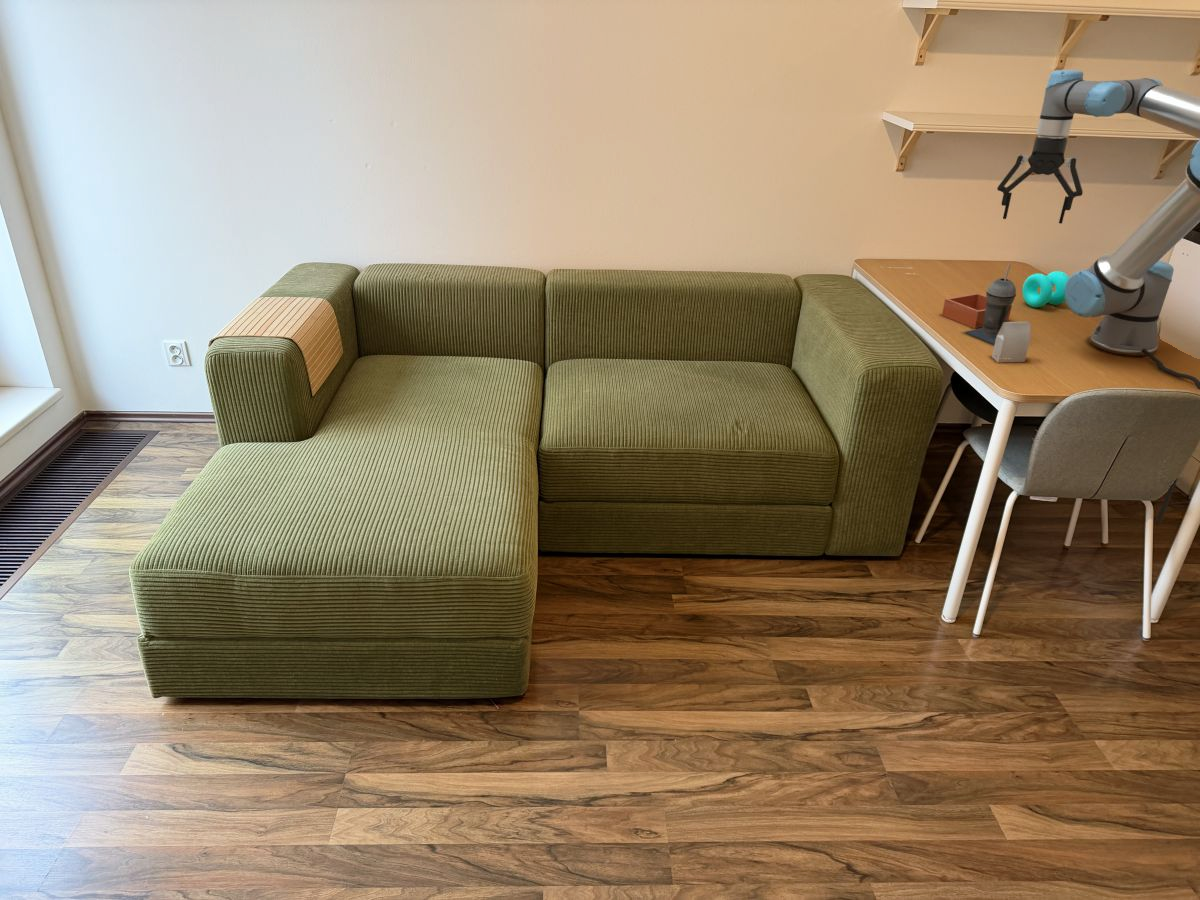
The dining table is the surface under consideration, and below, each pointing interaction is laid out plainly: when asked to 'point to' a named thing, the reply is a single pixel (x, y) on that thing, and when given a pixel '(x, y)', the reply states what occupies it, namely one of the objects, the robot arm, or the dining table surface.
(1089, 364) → the dining table surface
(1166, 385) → the dining table surface
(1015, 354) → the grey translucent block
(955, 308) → the open reddish-brown box
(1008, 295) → the beverage cup
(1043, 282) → the donuts
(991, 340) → the pad
